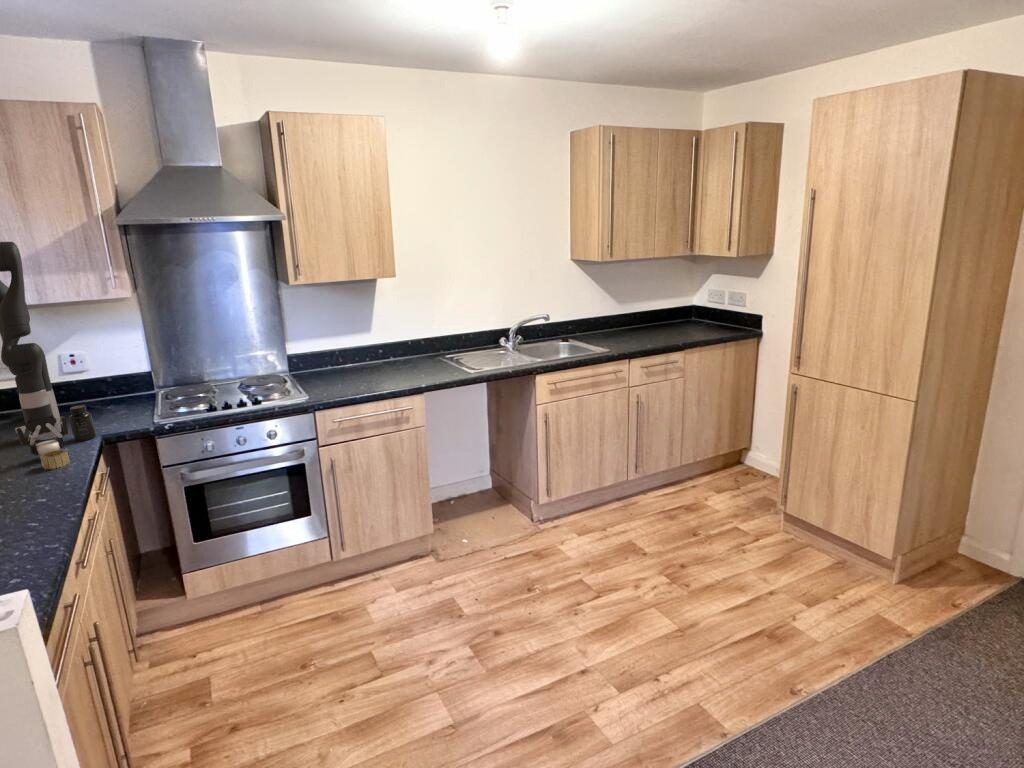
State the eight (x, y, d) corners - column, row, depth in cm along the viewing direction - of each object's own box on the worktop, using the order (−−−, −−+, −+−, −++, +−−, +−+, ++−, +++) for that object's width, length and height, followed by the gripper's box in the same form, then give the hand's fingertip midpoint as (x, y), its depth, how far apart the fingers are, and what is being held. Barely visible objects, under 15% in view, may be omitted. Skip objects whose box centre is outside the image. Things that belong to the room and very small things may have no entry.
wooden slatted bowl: (40, 466, 199) (37, 454, 198) (65, 459, 205) (62, 447, 203) (47, 471, 195) (44, 459, 194) (72, 463, 200) (69, 452, 199)
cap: (35, 458, 206) (31, 444, 205) (58, 452, 211) (54, 438, 210) (41, 462, 202) (38, 448, 201) (64, 456, 207) (60, 442, 206)
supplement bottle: (100, 434, 227) (93, 403, 224) (89, 441, 221) (81, 409, 217) (81, 435, 227) (74, 404, 224) (69, 442, 220) (61, 410, 217)
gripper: (57, 396, 209) (69, 442, 214) (5, 408, 198) (19, 456, 203) (65, 400, 205) (77, 446, 209) (12, 412, 194) (25, 461, 198)
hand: (48, 451), depth 206 cm, fingers closed on cap, 6 cm apart
